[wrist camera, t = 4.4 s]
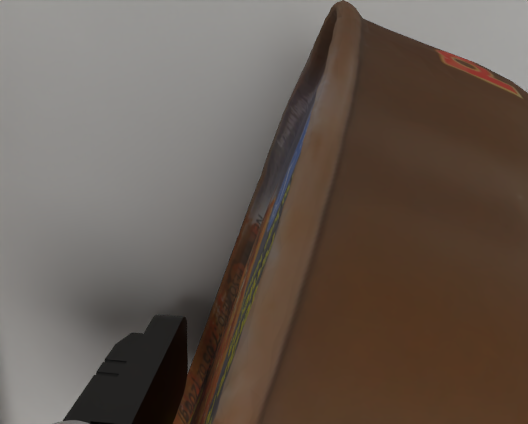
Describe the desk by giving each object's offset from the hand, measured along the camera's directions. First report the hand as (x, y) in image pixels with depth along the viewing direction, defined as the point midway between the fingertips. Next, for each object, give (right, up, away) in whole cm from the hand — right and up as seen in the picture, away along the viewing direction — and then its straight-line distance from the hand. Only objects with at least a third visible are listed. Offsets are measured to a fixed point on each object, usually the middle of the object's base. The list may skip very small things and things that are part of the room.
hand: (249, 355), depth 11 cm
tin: (0, 0, +1) cm, 1 cm away
